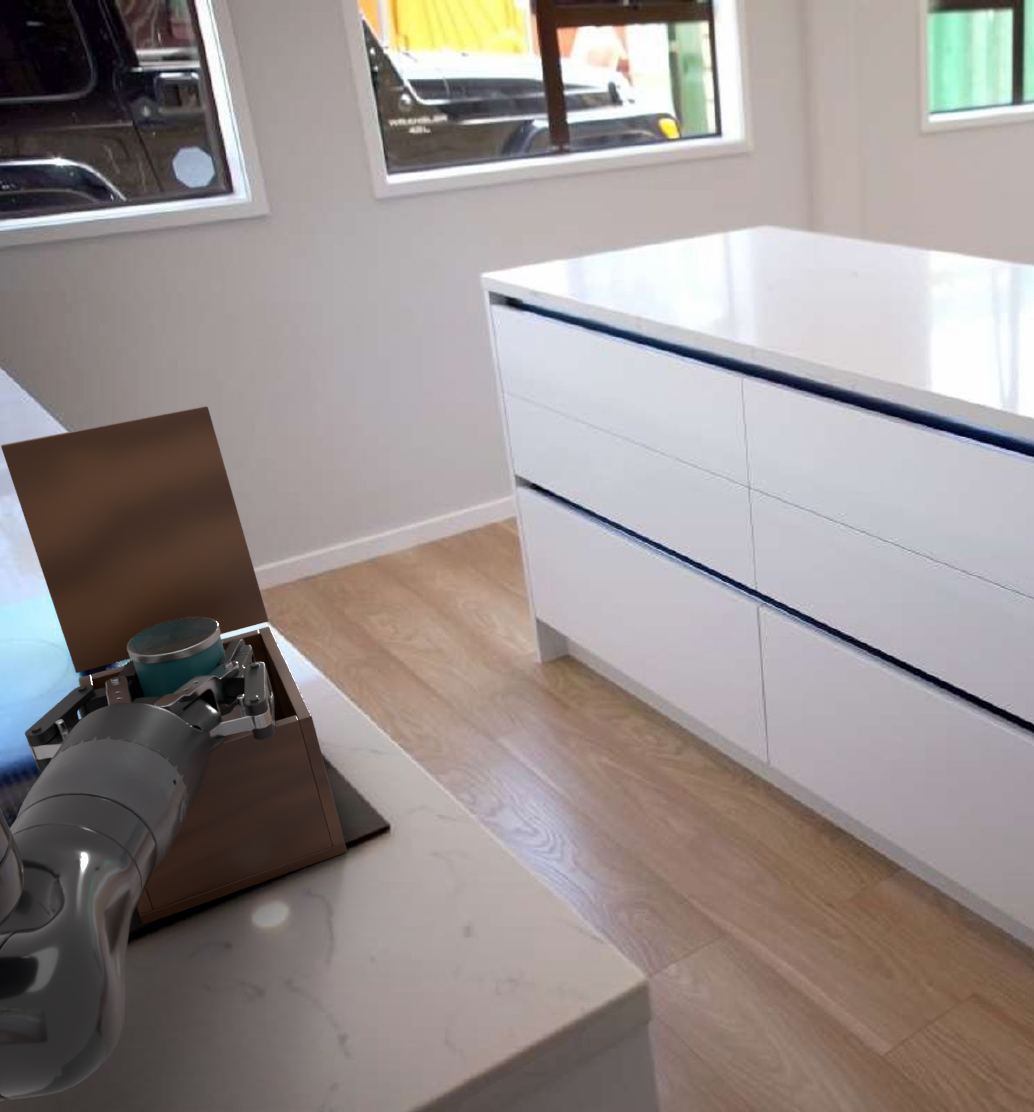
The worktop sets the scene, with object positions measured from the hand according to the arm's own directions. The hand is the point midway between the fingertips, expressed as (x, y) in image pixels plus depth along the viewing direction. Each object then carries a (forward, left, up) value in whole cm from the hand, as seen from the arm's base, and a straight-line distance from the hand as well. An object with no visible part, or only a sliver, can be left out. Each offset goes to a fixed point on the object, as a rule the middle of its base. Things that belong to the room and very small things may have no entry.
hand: (195, 658), depth 85 cm
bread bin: (-1, 0, -13) cm, 13 cm away
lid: (+2, +8, +6) cm, 10 cm away
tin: (-2, -2, -6) cm, 7 cm away
